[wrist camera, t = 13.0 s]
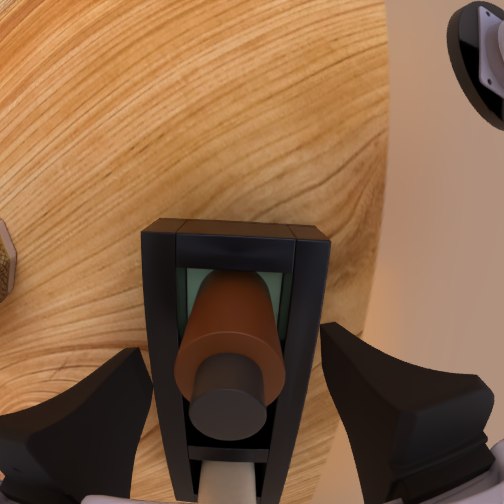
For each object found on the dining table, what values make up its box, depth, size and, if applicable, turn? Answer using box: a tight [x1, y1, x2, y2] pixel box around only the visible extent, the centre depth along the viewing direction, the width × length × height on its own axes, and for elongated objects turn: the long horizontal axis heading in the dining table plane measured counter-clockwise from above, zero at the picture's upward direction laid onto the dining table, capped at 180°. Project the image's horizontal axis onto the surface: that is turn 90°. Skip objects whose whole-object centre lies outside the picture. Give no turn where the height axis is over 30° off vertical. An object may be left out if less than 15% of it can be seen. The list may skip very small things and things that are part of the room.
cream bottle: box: [197, 460, 257, 504], centre depth 17 cm, size 4×4×9 cm
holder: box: [141, 218, 331, 504], centre depth 18 cm, size 8×22×3 cm, turn 177°
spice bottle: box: [174, 270, 285, 440], centre depth 13 cm, size 4×4×9 cm
